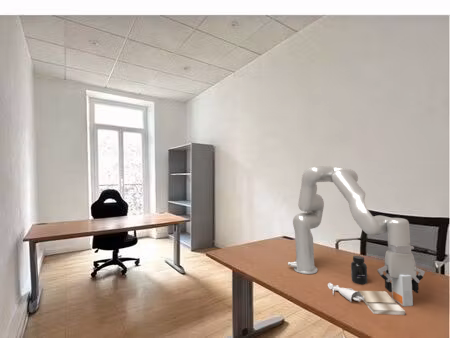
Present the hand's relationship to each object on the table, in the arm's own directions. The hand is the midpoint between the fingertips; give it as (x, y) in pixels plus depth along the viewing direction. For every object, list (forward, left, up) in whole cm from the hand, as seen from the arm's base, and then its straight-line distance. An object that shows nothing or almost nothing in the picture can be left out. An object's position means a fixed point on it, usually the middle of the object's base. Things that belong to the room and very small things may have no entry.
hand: (401, 291), depth 99 cm
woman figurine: (-21, +5, -5) cm, 22 cm away
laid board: (-10, -7, -5) cm, 13 cm away
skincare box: (0, 0, -5) cm, 5 cm away
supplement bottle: (-9, +19, -5) cm, 22 cm away
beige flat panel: (-10, +1, -4) cm, 10 cm away
